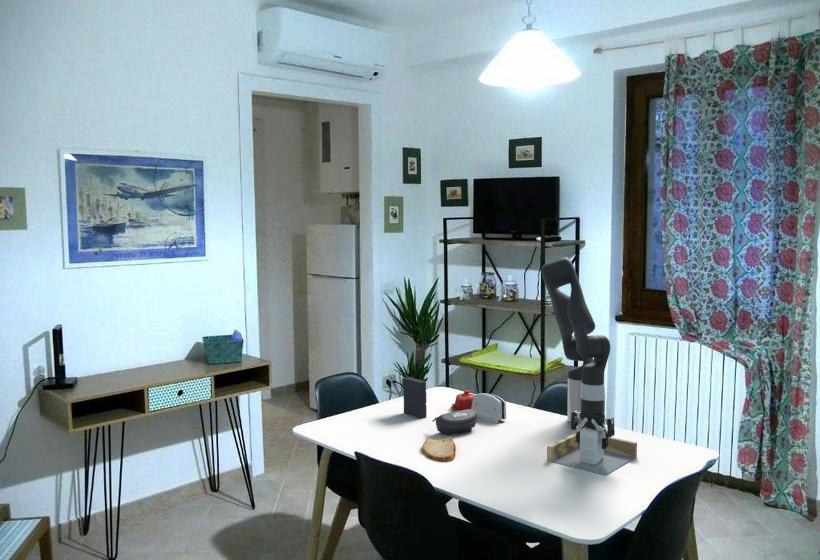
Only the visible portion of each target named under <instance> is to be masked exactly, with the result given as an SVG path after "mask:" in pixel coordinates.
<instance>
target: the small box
mask: <svg viewBox="0 0 820 560" xmlns="http://www.w3.org/2000/svg"><path fill="white" fill-rule="evenodd" d="M600 427H601V426H600ZM602 438H603V437H602V435H601V434H600V432H598V430H597V429H593V428H587V427H586V426H585V427H584V428H583V429H582V430H580V462H583V463H589V464H594V465H596V464H597V463H598V462H599V461H600V460H602V459H603V458H604V449H602Z"/></svg>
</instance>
